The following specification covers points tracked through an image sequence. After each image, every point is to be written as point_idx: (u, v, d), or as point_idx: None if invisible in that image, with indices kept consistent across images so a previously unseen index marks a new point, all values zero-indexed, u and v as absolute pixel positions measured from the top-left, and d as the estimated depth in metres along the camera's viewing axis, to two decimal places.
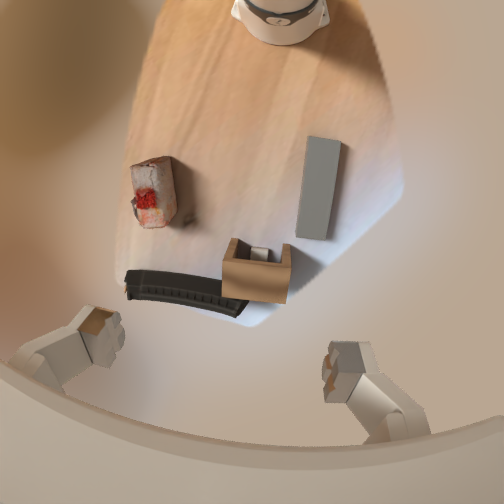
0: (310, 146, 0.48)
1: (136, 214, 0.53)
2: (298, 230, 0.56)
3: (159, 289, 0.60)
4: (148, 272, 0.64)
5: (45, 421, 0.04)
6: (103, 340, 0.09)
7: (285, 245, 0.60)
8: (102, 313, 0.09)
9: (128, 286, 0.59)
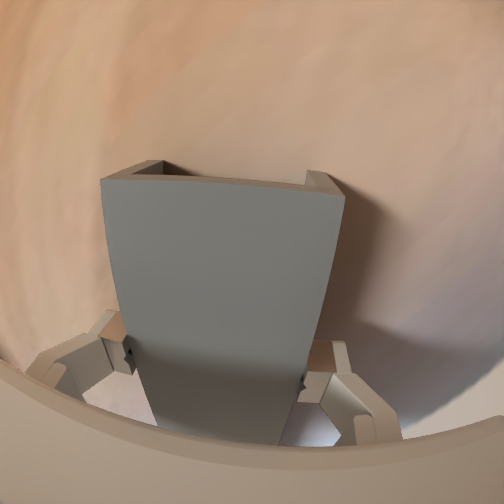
0: (121, 246, 0.07)
1: None
2: None
3: None
4: None
5: (45, 421, 0.04)
6: (127, 347, 0.09)
7: None
8: None
9: None
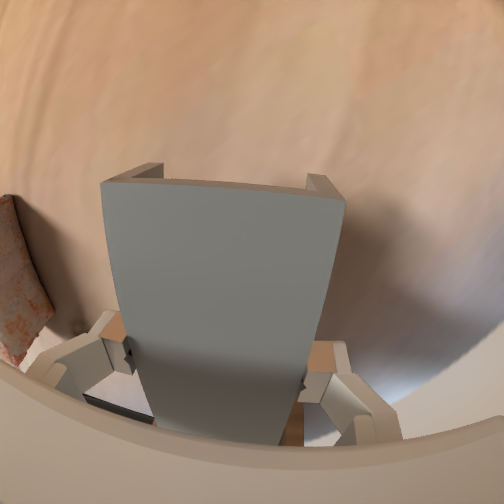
0: (121, 250, 0.07)
1: None
2: None
3: None
4: None
5: (45, 421, 0.04)
6: (127, 346, 0.09)
7: None
8: None
9: None
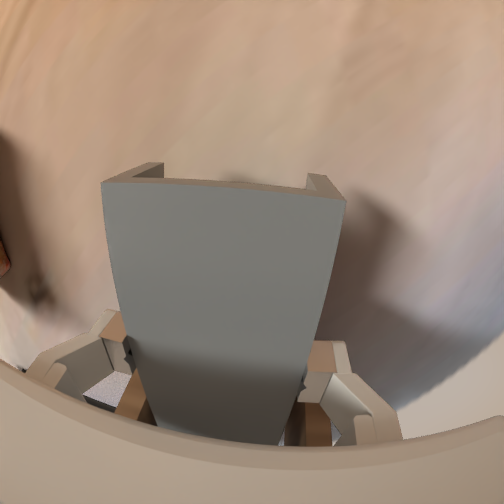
0: (122, 249, 0.07)
1: None
2: None
3: None
4: None
5: (45, 421, 0.04)
6: (127, 347, 0.09)
7: None
8: None
9: None
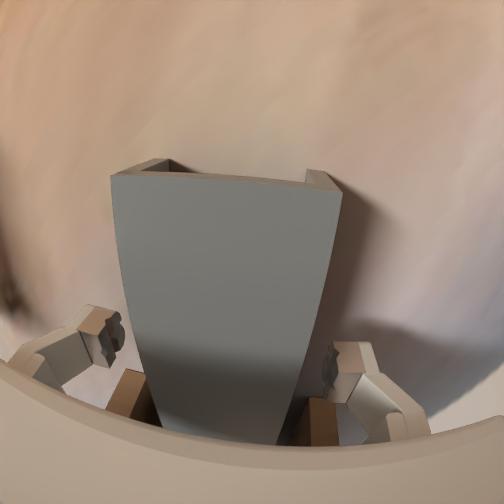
0: (130, 240, 0.08)
1: None
2: None
3: None
4: None
5: (45, 421, 0.04)
6: (103, 340, 0.09)
7: (319, 409, 0.14)
8: (102, 313, 0.09)
9: None
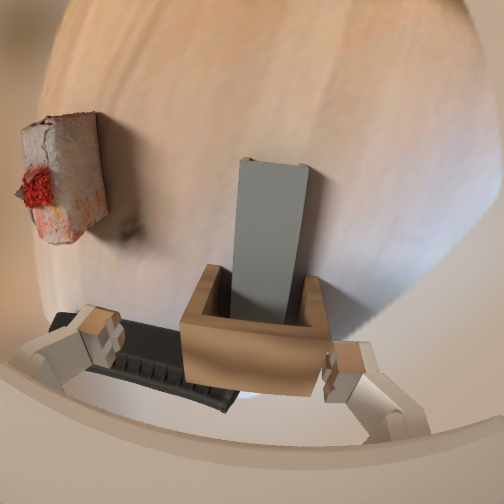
0: (244, 181, 0.25)
1: None
2: None
3: None
4: None
5: (45, 421, 0.04)
6: (103, 340, 0.09)
7: (310, 280, 0.30)
8: (102, 313, 0.09)
9: None
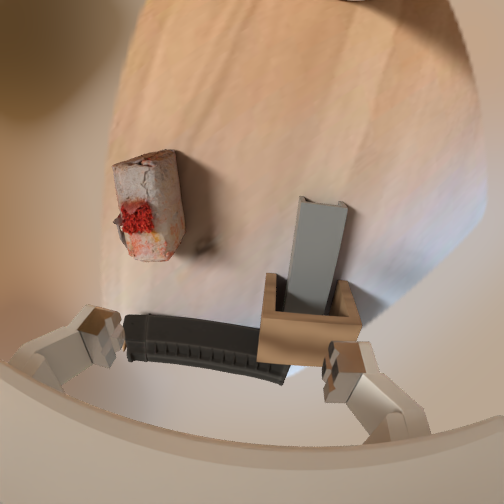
0: (302, 217, 0.35)
1: (123, 239, 0.34)
2: None
3: (171, 347, 0.41)
4: (154, 318, 0.46)
5: (45, 421, 0.04)
6: (103, 340, 0.09)
7: (342, 283, 0.41)
8: (102, 313, 0.09)
9: (127, 342, 0.40)
